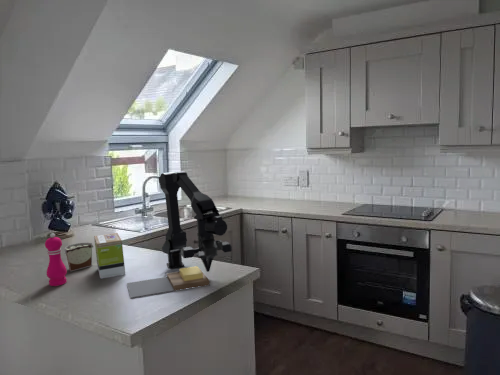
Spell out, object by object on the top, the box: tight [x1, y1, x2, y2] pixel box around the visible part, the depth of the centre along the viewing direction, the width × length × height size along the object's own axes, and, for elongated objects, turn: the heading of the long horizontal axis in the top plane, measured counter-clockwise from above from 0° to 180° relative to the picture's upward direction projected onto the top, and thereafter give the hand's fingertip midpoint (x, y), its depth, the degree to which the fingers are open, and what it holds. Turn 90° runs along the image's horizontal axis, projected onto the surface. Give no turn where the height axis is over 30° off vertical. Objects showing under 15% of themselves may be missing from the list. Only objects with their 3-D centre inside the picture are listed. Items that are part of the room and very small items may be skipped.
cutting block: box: [166, 267, 210, 292], centre depth 164 cm, size 15×13×2 cm
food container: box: [63, 242, 94, 272], centre depth 189 cm, size 12×6×10 cm, turn 135°
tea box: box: [93, 232, 126, 279], centre depth 180 cm, size 15×10×15 cm
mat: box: [126, 276, 175, 300], centre depth 159 cm, size 16×15×1 cm
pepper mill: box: [44, 232, 68, 287], centre depth 168 cm, size 7×7×20 cm
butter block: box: [178, 265, 204, 281], centre depth 164 cm, size 9×7×2 cm
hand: (207, 271), depth 166 cm, fingers closed
